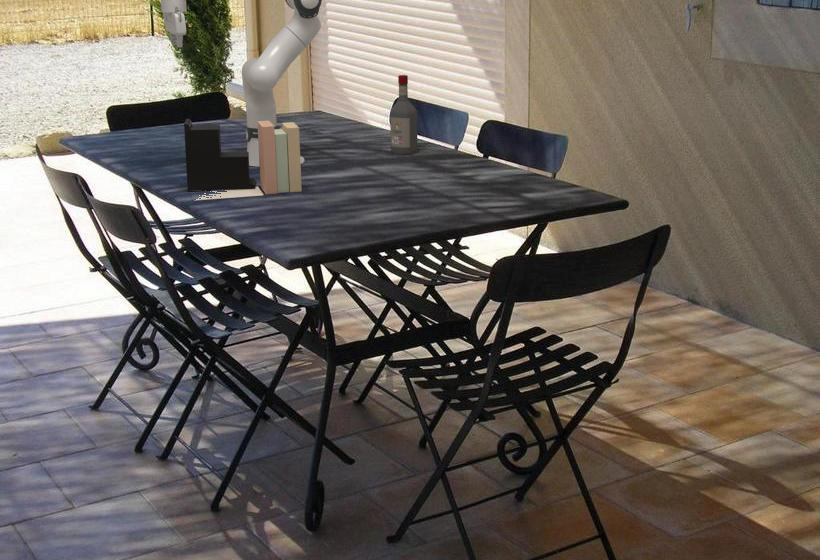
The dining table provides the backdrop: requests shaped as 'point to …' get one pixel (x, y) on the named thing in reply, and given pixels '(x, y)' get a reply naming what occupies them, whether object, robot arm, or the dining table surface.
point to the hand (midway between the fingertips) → (177, 45)
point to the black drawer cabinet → (213, 161)
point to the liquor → (403, 122)
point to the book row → (279, 157)
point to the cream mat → (233, 193)
